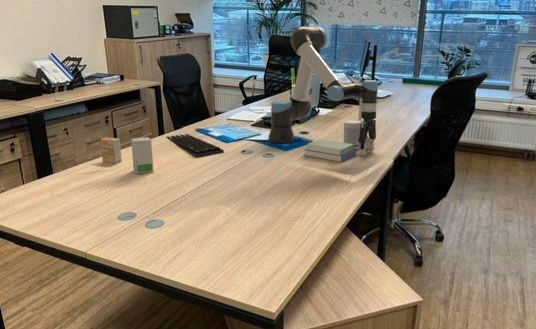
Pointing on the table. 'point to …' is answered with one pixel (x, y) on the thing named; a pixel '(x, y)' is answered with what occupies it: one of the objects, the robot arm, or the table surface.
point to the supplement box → (111, 150)
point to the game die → (369, 144)
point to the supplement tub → (352, 132)
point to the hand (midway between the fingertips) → (366, 153)
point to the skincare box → (142, 155)
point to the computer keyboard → (195, 145)
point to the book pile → (330, 150)
